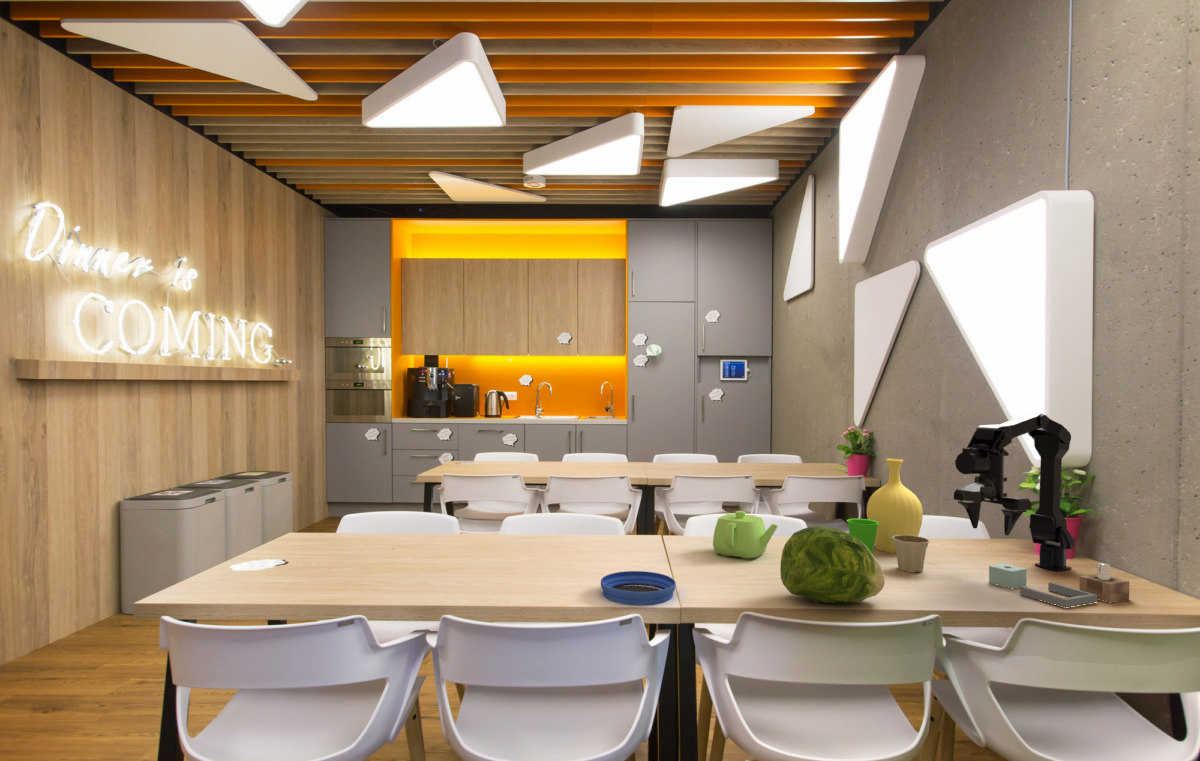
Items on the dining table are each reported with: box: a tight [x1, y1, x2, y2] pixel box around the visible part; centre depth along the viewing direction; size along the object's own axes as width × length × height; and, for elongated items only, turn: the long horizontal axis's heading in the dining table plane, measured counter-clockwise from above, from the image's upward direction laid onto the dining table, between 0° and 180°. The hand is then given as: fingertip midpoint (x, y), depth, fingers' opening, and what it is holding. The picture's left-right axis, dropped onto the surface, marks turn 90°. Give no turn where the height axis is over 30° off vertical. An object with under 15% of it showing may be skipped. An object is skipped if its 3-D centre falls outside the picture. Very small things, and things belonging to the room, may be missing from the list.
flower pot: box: [892, 535, 930, 573], centre depth 187 cm, size 9×9×9 cm
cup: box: [845, 518, 879, 556], centre depth 199 cm, size 9×9×11 cm
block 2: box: [1079, 573, 1130, 603], centre depth 164 cm, size 7×7×4 cm
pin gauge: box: [1097, 562, 1111, 581], centre depth 164 cm, size 2×2×8 cm
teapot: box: [712, 510, 779, 560], centre depth 202 cm, size 18×20×13 cm
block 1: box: [988, 562, 1028, 589], centre depth 174 cm, size 6×6×5 cm
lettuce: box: [779, 525, 886, 604], centre depth 160 cm, size 18×23×19 cm
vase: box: [866, 458, 924, 554], centre depth 211 cm, size 16×16×28 cm
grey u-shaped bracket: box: [1019, 581, 1098, 608], centre depth 162 cm, size 11×11×2 cm
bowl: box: [600, 570, 677, 606], centre depth 164 cm, size 18×18×4 cm
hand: (990, 531), depth 180 cm, fingers open, 9 cm apart
